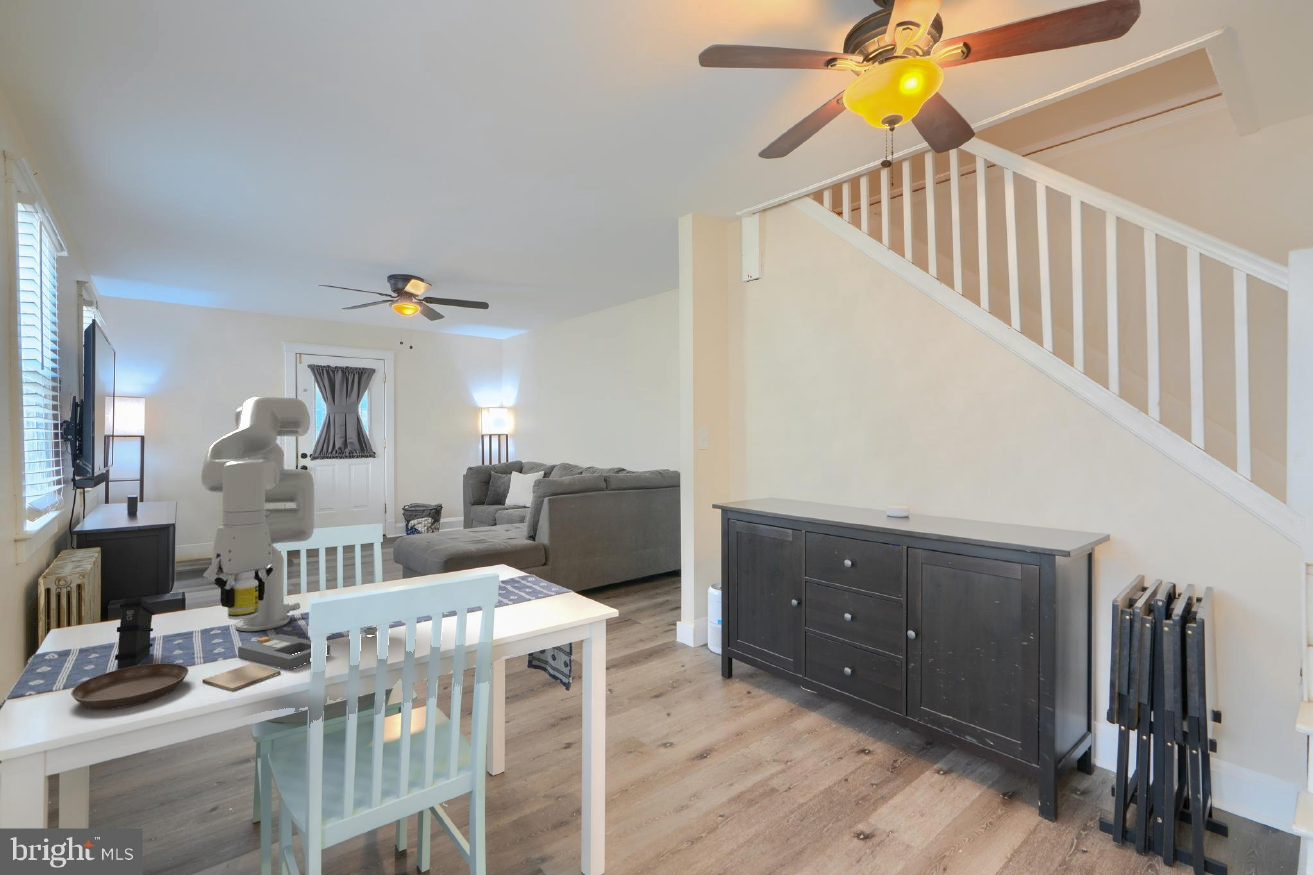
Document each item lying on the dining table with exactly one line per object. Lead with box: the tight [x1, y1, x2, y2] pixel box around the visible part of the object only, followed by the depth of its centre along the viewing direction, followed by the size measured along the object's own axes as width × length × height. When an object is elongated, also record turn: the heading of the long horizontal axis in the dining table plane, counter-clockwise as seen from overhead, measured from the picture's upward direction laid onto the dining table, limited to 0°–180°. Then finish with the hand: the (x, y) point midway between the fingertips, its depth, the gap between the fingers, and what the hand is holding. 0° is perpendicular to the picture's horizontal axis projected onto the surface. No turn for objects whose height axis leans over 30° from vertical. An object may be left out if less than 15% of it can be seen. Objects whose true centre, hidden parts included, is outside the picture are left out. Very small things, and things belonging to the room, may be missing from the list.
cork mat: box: [201, 663, 281, 692], centre depth 128 cm, size 10×10×1 cm
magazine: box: [114, 596, 156, 670], centre depth 137 cm, size 4×13×15 cm, turn 26°
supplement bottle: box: [227, 571, 258, 621], centre depth 128 cm, size 5×5×10 cm
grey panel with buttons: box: [237, 633, 331, 671], centre depth 141 cm, size 10×18×3 cm, turn 66°
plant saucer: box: [70, 662, 189, 710], centre depth 120 cm, size 18×18×3 cm
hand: (243, 602), depth 128 cm, fingers closed on supplement bottle, 5 cm apart
